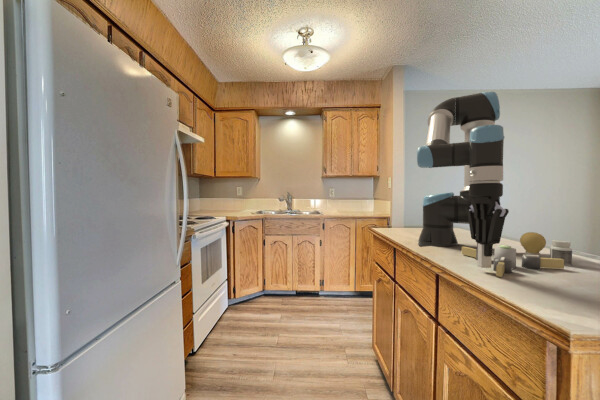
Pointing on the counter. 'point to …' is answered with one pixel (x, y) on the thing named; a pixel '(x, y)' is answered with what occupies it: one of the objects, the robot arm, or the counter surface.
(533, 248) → the light bulb
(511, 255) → the tribrach plate
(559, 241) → the pill bottle
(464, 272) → the counter surface
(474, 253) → the knob
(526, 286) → the counter surface
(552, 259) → the knob
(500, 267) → the knob
